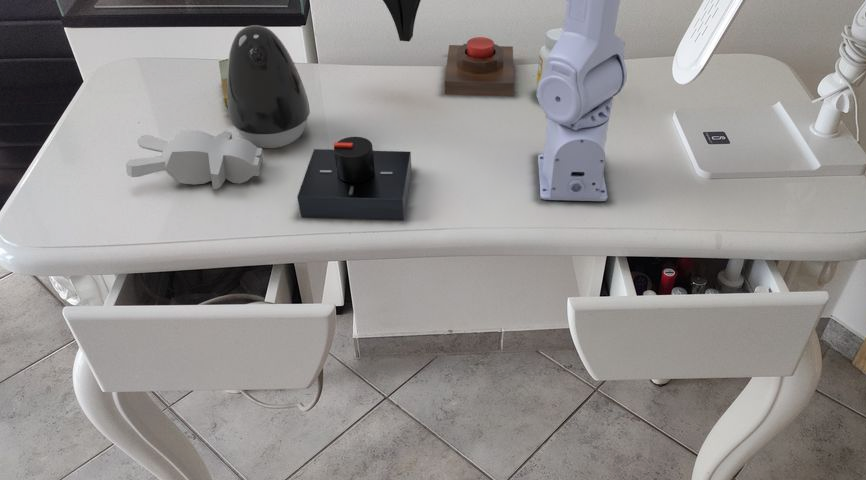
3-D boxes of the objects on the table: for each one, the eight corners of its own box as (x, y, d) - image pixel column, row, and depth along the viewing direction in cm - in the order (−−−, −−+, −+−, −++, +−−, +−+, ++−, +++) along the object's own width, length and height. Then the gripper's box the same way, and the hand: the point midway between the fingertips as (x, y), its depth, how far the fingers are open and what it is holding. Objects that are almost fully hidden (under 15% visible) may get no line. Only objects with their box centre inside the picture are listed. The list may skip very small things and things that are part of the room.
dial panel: (403, 220, 83) (402, 198, 81) (300, 217, 83) (296, 195, 81) (411, 171, 90) (410, 150, 88) (317, 169, 90) (313, 147, 88)
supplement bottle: (528, 96, 105) (532, 32, 98) (554, 85, 107) (560, 22, 101) (553, 110, 102) (560, 45, 95) (580, 99, 104) (588, 35, 98)
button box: (513, 96, 104) (514, 71, 102) (444, 94, 105) (444, 69, 102) (512, 59, 113) (513, 35, 111) (449, 58, 113) (448, 33, 111)
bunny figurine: (253, 167, 83) (117, 158, 81) (256, 202, 87) (126, 195, 85) (264, 125, 90) (139, 116, 88) (266, 159, 94) (146, 151, 92)
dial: (377, 162, 86) (374, 134, 83) (372, 184, 83) (369, 155, 80) (340, 161, 86) (337, 133, 83) (334, 182, 83) (330, 154, 80)
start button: (493, 60, 105) (493, 49, 104) (466, 59, 105) (466, 48, 104) (493, 48, 108) (494, 37, 107) (467, 47, 108) (467, 36, 107)
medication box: (226, 85, 106) (217, 60, 104) (244, 81, 107) (236, 56, 104) (232, 123, 98) (222, 97, 95) (252, 119, 98) (243, 92, 96)
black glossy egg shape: (234, 163, 91) (206, 49, 81) (236, 122, 98) (210, 13, 88) (315, 155, 93) (297, 42, 82) (311, 115, 100) (294, 7, 90)
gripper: (333, -63, 86) (345, 45, 95) (451, -54, 84) (452, 56, 93) (351, -81, 91) (361, 24, 100) (463, -73, 89) (463, 33, 98)
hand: (406, 38), depth 97 cm, fingers closed
